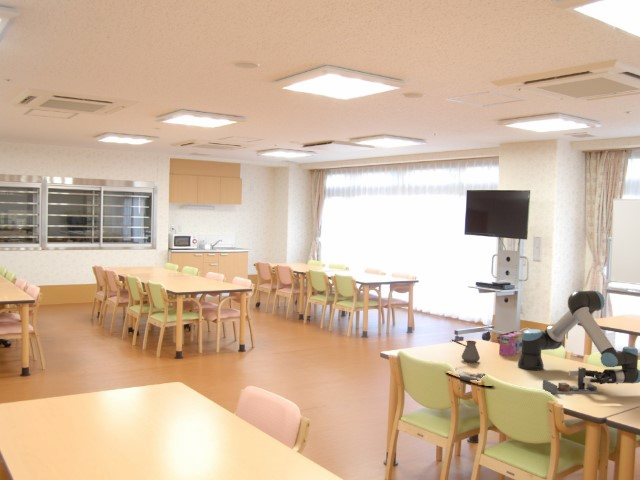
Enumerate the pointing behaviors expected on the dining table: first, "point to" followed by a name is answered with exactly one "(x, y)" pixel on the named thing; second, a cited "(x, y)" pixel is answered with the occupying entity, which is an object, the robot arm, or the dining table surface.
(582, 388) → the carriage
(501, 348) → the gum box
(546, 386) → the anvil
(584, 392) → the press bed
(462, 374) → the elongated rock
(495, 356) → the dining table surface
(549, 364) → the dining table surface
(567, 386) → the walnut block
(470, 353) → the coffee pot
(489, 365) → the dining table surface
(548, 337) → the robot arm
